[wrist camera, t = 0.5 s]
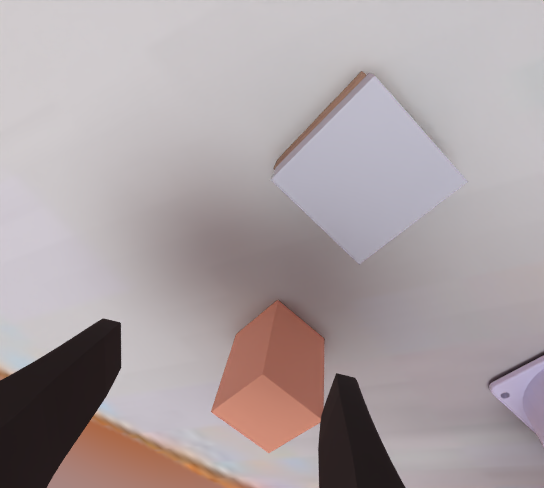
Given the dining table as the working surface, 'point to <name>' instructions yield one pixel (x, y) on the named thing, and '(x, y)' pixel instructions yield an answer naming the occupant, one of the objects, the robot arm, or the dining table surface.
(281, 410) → the brick block
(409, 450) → the dining table surface
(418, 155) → the tower upper
